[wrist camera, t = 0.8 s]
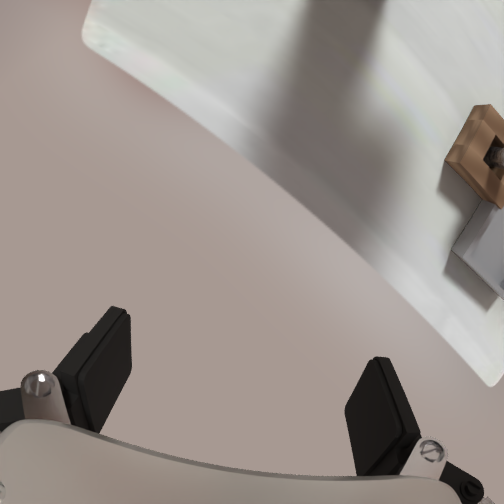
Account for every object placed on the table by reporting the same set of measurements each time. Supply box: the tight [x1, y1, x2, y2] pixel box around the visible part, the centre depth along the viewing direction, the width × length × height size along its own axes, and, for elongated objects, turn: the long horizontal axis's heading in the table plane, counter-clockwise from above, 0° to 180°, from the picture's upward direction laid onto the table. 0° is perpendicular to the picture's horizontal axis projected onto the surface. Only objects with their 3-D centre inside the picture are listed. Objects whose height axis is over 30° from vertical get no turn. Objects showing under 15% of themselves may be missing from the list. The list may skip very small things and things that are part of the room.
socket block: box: [445, 104, 504, 210], centre depth 32 cm, size 10×10×4 cm
